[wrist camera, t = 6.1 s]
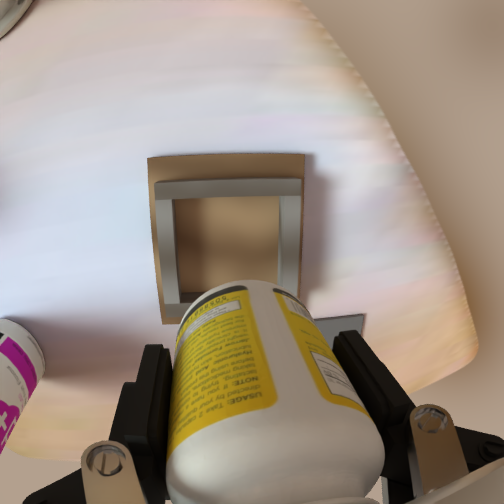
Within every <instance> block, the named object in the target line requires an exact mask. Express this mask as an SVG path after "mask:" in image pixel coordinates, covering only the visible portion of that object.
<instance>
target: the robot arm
mask: <svg viewBox="0 0 504 504" xmlns="http://www.w3.org/2000/svg"><path fill="white" fill-rule="evenodd" d="M32 1H33V0H0V38H1V37H2V36H4V35H5V34H6V33H7V32H8V31H9V30H10V29H11V28H12V27H13V26H14V25H15V24H16V22H17V21H18V20H19V19H20V18H21V17H22V15H23V14H24V13H25V11H26V10H27V9H28V7H29V6H30V4H31V3H32ZM332 352H333V354H334V355H335V357H336V359H337V361H338V362H339V364H340V366H341V367H342V369H343V371H344V372H345V374H346V376H347V377H348V379H349V381H350V383H351V384H352V386H353V388H354V389H355V391H356V393H357V395H358V397H359V398H360V400H361V401H362V403H363V404H364V406H365V409H366V410H367V412H368V413H369V415H370V417H371V419H372V420H373V422H374V424H375V425H376V428H377V430H378V432H379V434H380V436H381V439H382V441H383V445H384V451H385V460H384V466H383V469H382V472H381V474H380V476H382V477H381V480H382V495H383V504H504V440H503V439H502V438H500V437H498V436H495V435H491V434H486V433H482V432H477V431H473V430H469V429H465V428H461V427H457V426H454V423H453V420H452V418H451V416H450V414H449V413H448V412H447V411H446V410H445V409H443V408H441V407H440V406H437V405H433V404H425V405H420V406H418V407H416V406H415V405H414V403H413V402H412V401H411V399H410V398H409V397H408V395H407V394H406V392H405V391H404V390H403V388H402V387H401V386H400V384H399V383H398V382H397V380H396V379H395V378H394V377H393V375H392V374H391V373H390V371H389V370H388V369H387V367H386V366H385V365H384V364H383V363H382V362H381V361H380V360H379V359H378V357H377V356H376V355H375V353H374V352H373V351H372V349H371V348H370V347H369V346H368V344H367V343H366V342H365V340H364V339H363V338H362V336H361V335H360V334H359V333H358V331H357V330H347V331H341V332H339V334H338V336H335V337H334V341H333V347H332ZM172 374H173V369H172V363H171V357H170V351H169V349H168V348H166V349H164V348H163V345H162V344H146V345H145V348H144V352H143V356H142V360H141V363H140V367H139V371H138V375H137V379H136V382H125V383H124V385H123V387H122V391H121V394H120V398H119V401H118V405H117V409H116V413H115V416H114V420H113V424H112V428H111V432H110V436H109V440H108V441H100V442H96V443H94V444H92V445H90V446H89V447H88V448H87V449H86V450H85V451H84V452H83V454H82V457H81V468H80V469H79V470H77V471H75V472H73V473H71V474H69V475H67V476H66V477H64V478H62V479H60V480H58V481H56V482H54V483H52V484H50V485H48V486H46V487H44V488H42V489H40V490H38V491H36V492H34V493H32V494H31V495H29V496H28V497H26V499H25V500H24V501H23V504H165V500H171V499H170V497H169V494H168V490H167V485H166V457H167V437H168V420H169V408H170V395H171V384H172Z"/></svg>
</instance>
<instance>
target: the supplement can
mask: <svg viewBox="0 0 504 504" xmlns="http://www.w3.org/2000/svg"><path fill="white" fill-rule="evenodd" d="M44 370H45V361H44V357H43V353H42V351H41V349H40V347H39V345H38V343H37V341H36V340H35V339H34V337H33V336H32V335H31V334H30V333H29V332H28V331H27V330H26V329H25V328H23V327H22V326H21V325H19V324H17V323H15V322H12V321H10V320H8V319H0V454H1V452H2V450H3V448H4V446H5V444H6V442H7V440H8V438H9V436H10V434H11V432H12V430H13V428H14V426H15V424H16V422H17V420H18V418H19V416H20V415H21V413H22V411H23V409H24V407H25V405H26V404H27V402H28V400H29V398H30V396H31V395H32V393H33V391H34V389H35V388H36V386H37V384H38V383H39V381H40V379H41V377H42V376H43V374H44Z"/></svg>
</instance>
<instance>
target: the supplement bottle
mask: <svg viewBox="0 0 504 504" xmlns="http://www.w3.org/2000/svg"><path fill="white" fill-rule="evenodd" d="M384 460H385V451H384V445H383V441H382V439H381V436H380V434H379V432H378V430H377V428H376V425H375V424H374V422H373V420H372V419H371V417H370V415H369V413H368V412H367V410H366V409H365V406H364V404H363V403H362V401H361V400H360V398H359V397H358V395H357V393H356V391H355V389H354V388H353V386H352V384H351V383H350V381H349V379H348V377H347V376H346V374H345V372H344V371H343V369H342V367H341V366H340V364H339V362H338V361H337V359H336V357H335V355H334V354H333V352H332V350H331V348H330V347H329V345H328V343H327V342H326V340H325V338H324V337H323V335H322V333H321V331H320V330H319V328H318V327H317V325H316V323H315V321H314V319H313V318H312V317H311V315H310V313H309V312H308V310H307V309H306V307H305V306H304V305H303V303H302V302H301V301H300V300H299V299H298V298H297V297H296V296H295V295H294V294H292V293H291V292H290V291H288V290H286V289H285V288H283V287H281V286H279V285H276V284H273V283H269V282H266V281H260V280H239V281H233V282H229V283H226V284H223V285H220V286H217V287H215V288H213V289H211V290H209V291H207V292H206V293H204V294H203V295H202V296H200V297H199V298H198V299H197V300H196V301H195V302H194V303H193V304H192V305H191V306H190V307H189V309H188V310H187V312H186V313H185V315H184V317H183V318H182V321H181V323H180V326H179V330H178V334H177V340H176V348H175V358H174V365H173V374H172V384H171V395H170V408H169V420H168V437H167V457H166V485H167V490H168V494H169V497H170V499H171V502H172V503H173V504H379V502H377V501H375V500H373V499H370V498H365V496H366V495H367V494H368V493H369V492H370V490H371V489H372V488H373V486H374V485H375V483H376V482H377V480H378V478H379V476H380V474H381V472H382V469H383V466H384Z"/></svg>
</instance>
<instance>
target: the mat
mask: <svg viewBox="0 0 504 504" xmlns="http://www.w3.org/2000/svg"><path fill="white" fill-rule="evenodd" d="M363 318H364V315H363V314H358V315H349V316H341V317H332V318H322V319H314V321H315V323H316V325H317V327H318V328H319V330H320V331H321V333H322V335H323V337H324V338H325V340H326V342H327V343H328V345H329V347H330V348H331V350H332V347H333V341H334V337H335V336H338V334H339V332H341V331H347V330H357V331H358V333H359V334H360V335H361V330H362V324H363Z"/></svg>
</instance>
